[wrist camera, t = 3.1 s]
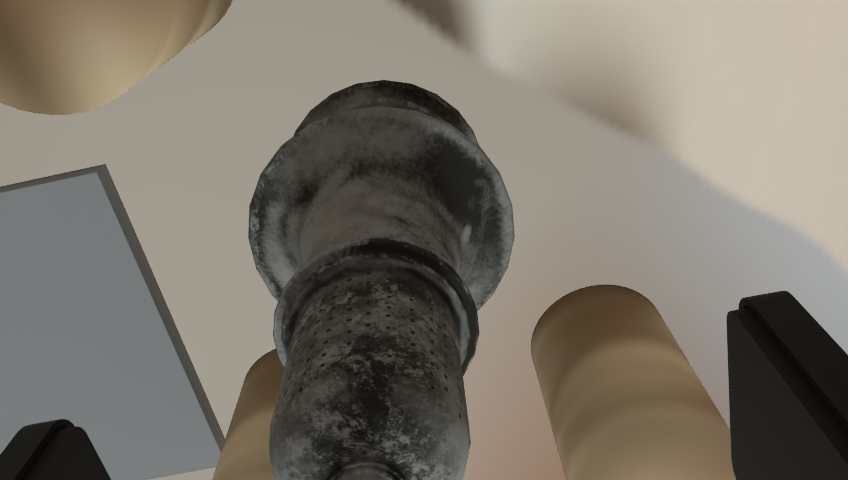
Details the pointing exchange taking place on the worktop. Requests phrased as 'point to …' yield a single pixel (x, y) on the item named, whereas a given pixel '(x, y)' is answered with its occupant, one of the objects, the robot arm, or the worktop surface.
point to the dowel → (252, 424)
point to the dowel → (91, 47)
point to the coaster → (94, 332)
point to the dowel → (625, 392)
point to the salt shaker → (377, 283)
